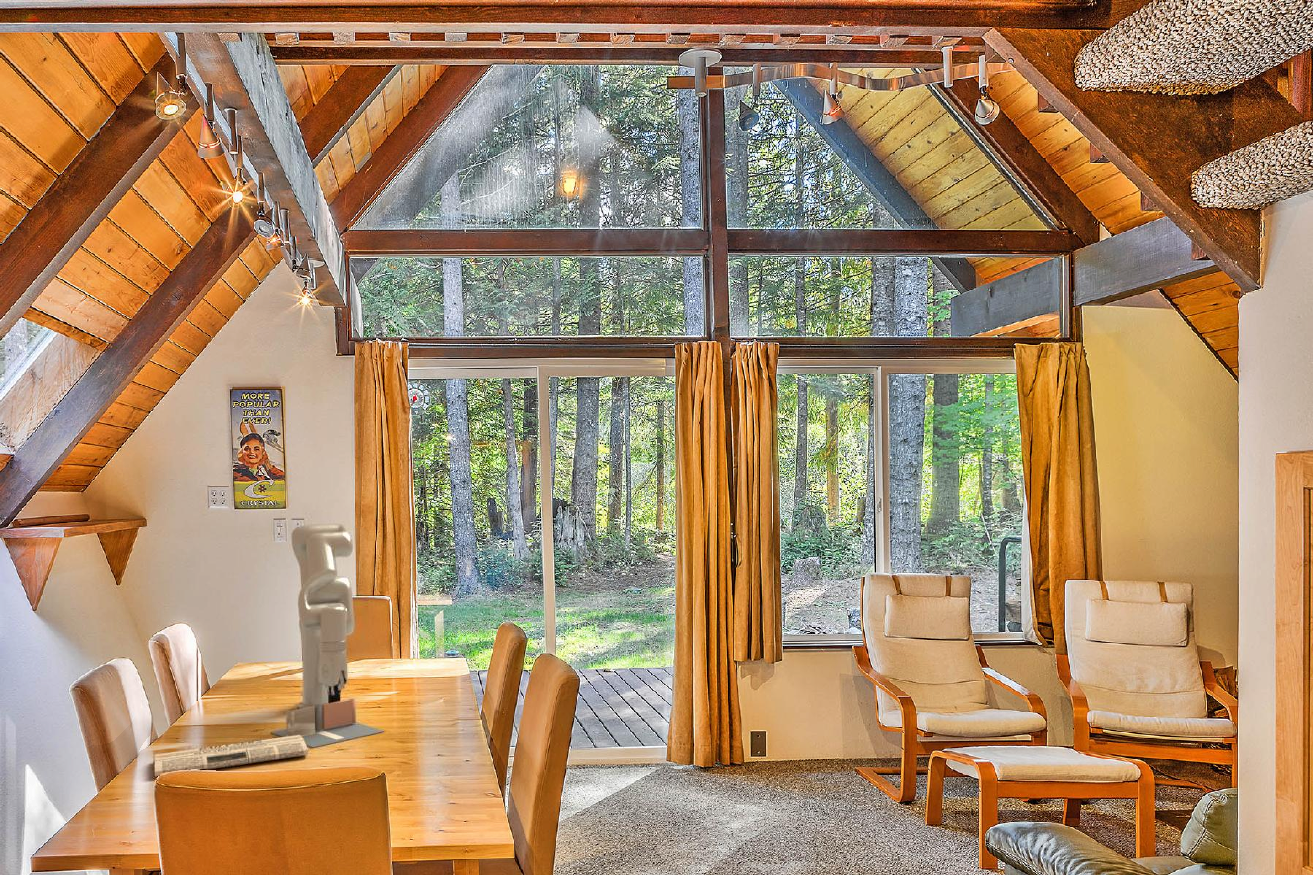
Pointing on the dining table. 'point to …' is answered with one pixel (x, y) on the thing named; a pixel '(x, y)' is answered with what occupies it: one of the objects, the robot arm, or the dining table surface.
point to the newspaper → (231, 754)
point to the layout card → (334, 734)
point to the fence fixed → (300, 721)
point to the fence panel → (335, 714)
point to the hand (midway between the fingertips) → (334, 707)
